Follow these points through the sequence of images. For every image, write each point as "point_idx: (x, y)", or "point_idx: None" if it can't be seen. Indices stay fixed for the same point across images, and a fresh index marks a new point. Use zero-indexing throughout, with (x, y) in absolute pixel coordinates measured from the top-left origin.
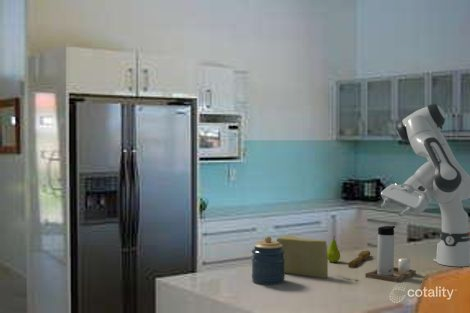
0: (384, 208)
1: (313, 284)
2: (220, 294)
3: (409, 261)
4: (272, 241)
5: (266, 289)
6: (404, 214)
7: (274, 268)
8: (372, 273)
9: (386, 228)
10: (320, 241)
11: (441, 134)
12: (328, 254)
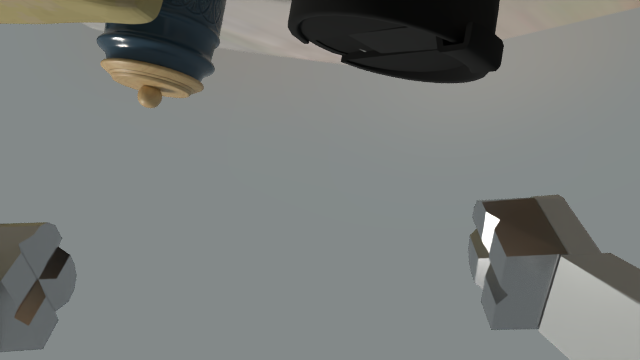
0: (59, 243)
1: None
2: (265, 44)
3: None
4: (139, 81)
5: (271, 3)
6: (589, 253)
7: (221, 24)
8: None
9: (441, 82)
10: (143, 22)
11: None
12: None
